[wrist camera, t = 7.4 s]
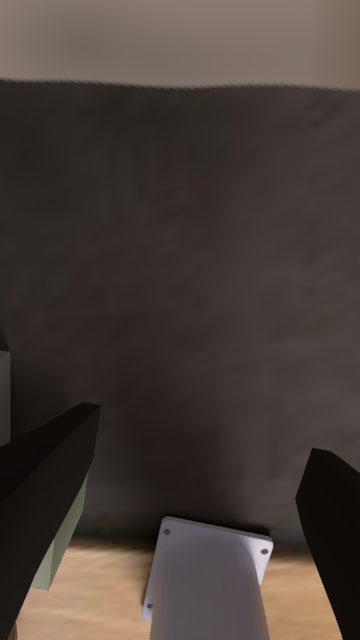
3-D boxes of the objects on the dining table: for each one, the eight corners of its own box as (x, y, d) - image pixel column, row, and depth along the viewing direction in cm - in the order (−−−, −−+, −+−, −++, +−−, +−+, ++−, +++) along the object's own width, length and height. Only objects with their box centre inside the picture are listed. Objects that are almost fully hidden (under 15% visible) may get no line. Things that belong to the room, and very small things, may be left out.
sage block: (82, 509, 23) (48, 590, 17) (22, 497, 23) (-32, 575, 17) (90, 456, 22) (56, 525, 16) (27, 444, 22) (-29, 509, 16)
